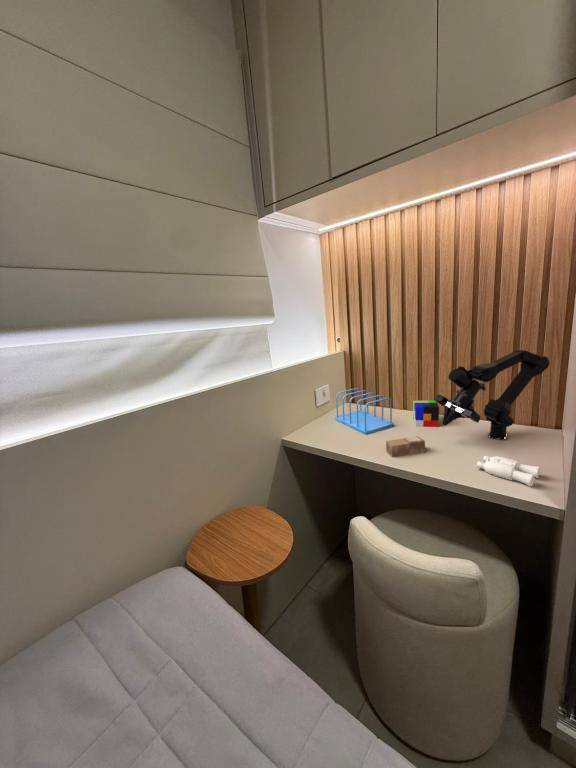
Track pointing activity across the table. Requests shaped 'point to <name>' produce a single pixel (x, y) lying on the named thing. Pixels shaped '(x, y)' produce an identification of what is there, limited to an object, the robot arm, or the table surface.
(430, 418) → the puzzle toy
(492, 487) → the table surface
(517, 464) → the binoculars
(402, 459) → the table surface
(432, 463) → the table surface
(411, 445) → the walnut block
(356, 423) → the file sorter
